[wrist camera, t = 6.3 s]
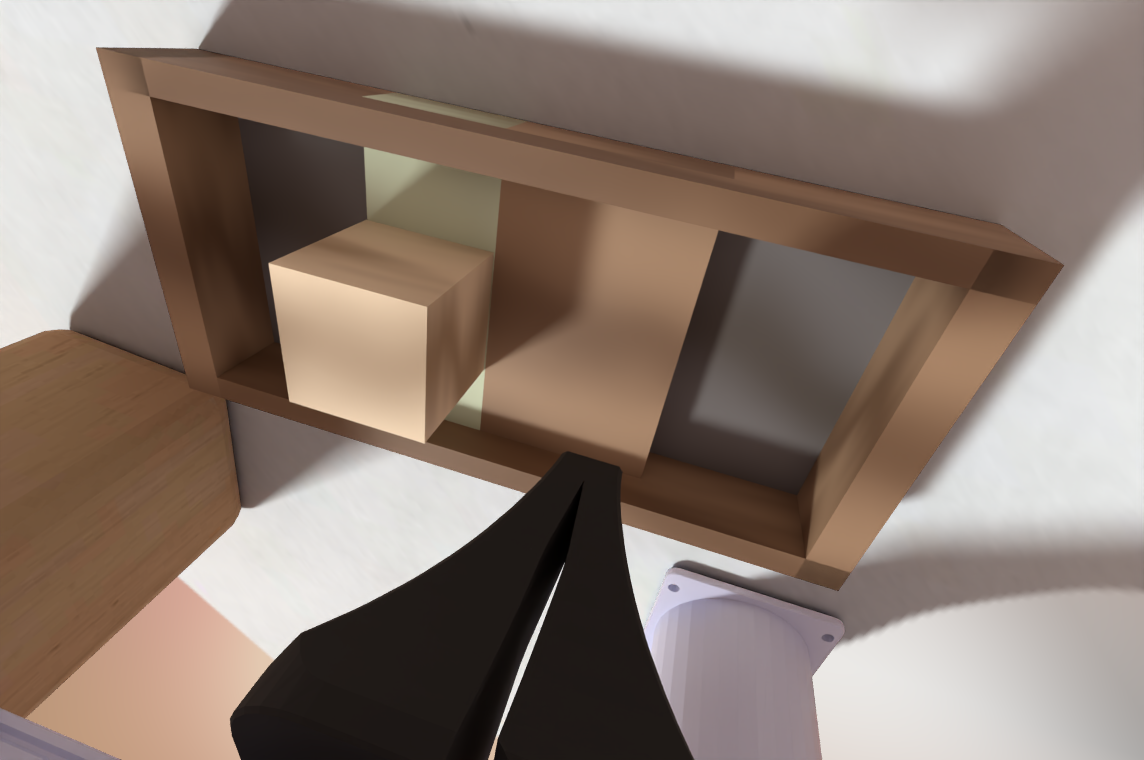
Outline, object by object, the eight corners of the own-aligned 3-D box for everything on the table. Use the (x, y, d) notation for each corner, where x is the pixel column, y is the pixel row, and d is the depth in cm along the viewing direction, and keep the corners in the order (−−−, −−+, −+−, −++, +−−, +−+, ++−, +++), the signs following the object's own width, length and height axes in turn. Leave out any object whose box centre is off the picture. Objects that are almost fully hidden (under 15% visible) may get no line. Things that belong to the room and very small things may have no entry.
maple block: (483, 369, 20) (424, 443, 16) (371, 337, 20) (289, 401, 17) (494, 252, 17) (427, 306, 14) (366, 219, 18) (268, 263, 14)
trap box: (824, 519, 22) (838, 591, 19) (253, 349, 25) (189, 387, 22) (1001, 225, 15) (1064, 265, 12) (196, 48, 18) (96, 47, 16)
